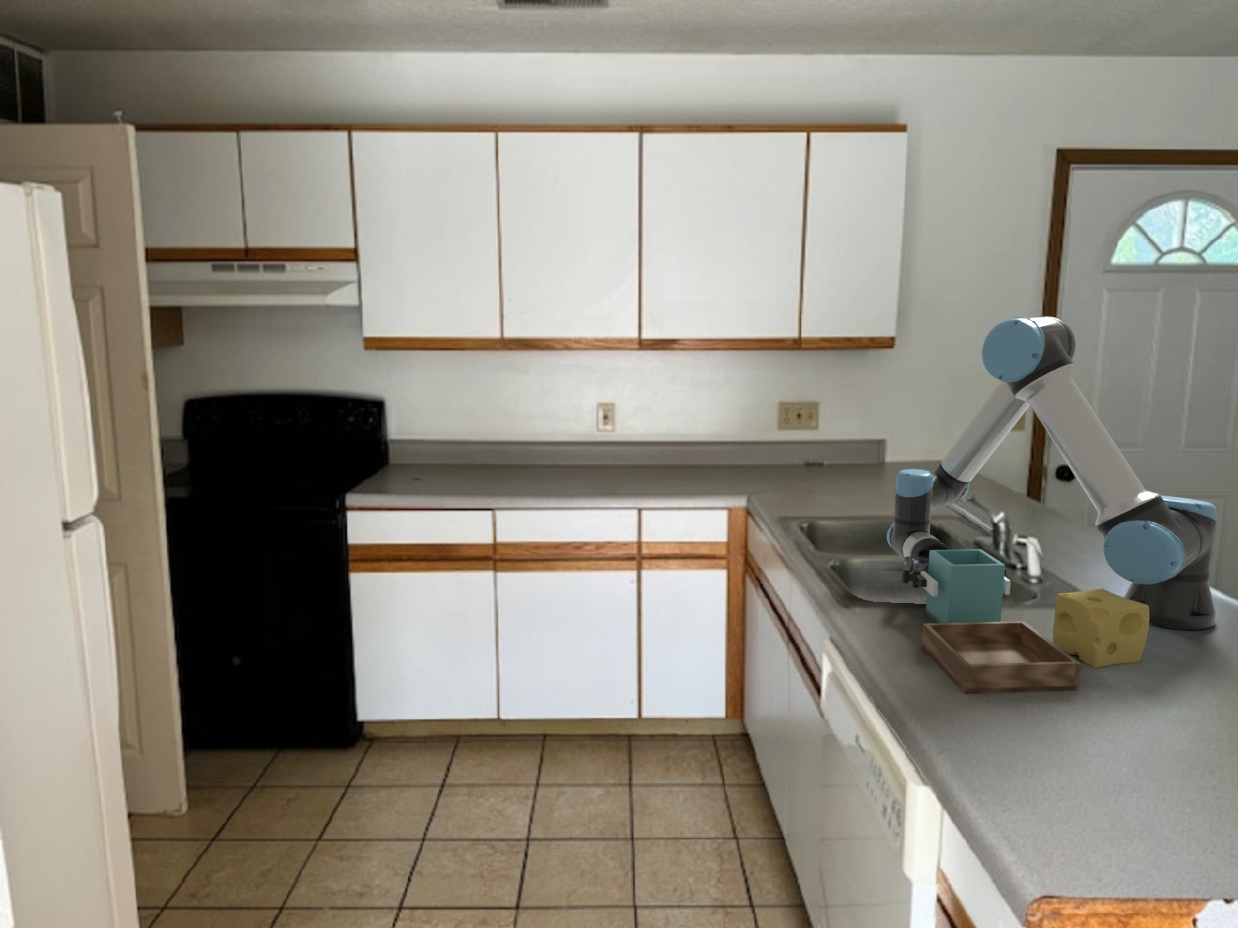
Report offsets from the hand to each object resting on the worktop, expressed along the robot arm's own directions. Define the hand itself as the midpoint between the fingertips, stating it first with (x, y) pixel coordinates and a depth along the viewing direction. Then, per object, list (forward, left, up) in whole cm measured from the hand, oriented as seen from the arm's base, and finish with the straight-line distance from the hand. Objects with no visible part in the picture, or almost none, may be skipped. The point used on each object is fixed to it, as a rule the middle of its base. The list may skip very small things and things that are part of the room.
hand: (972, 588), depth 165 cm
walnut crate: (-8, +16, -8) cm, 20 cm away
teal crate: (+2, -3, -8) cm, 8 cm away
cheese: (-21, 0, -8) cm, 22 cm away
